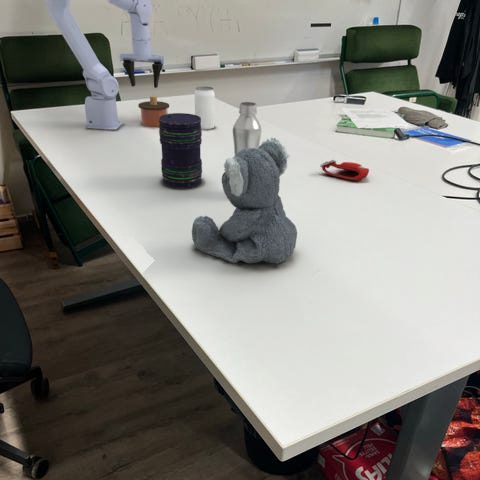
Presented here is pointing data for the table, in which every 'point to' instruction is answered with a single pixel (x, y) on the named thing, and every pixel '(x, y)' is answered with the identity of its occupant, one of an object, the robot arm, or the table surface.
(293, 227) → the koala plush
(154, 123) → the cup
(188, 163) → the storage jar
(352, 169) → the tracker holder
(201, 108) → the can
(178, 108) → the table surface
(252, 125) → the silver metal bottle
